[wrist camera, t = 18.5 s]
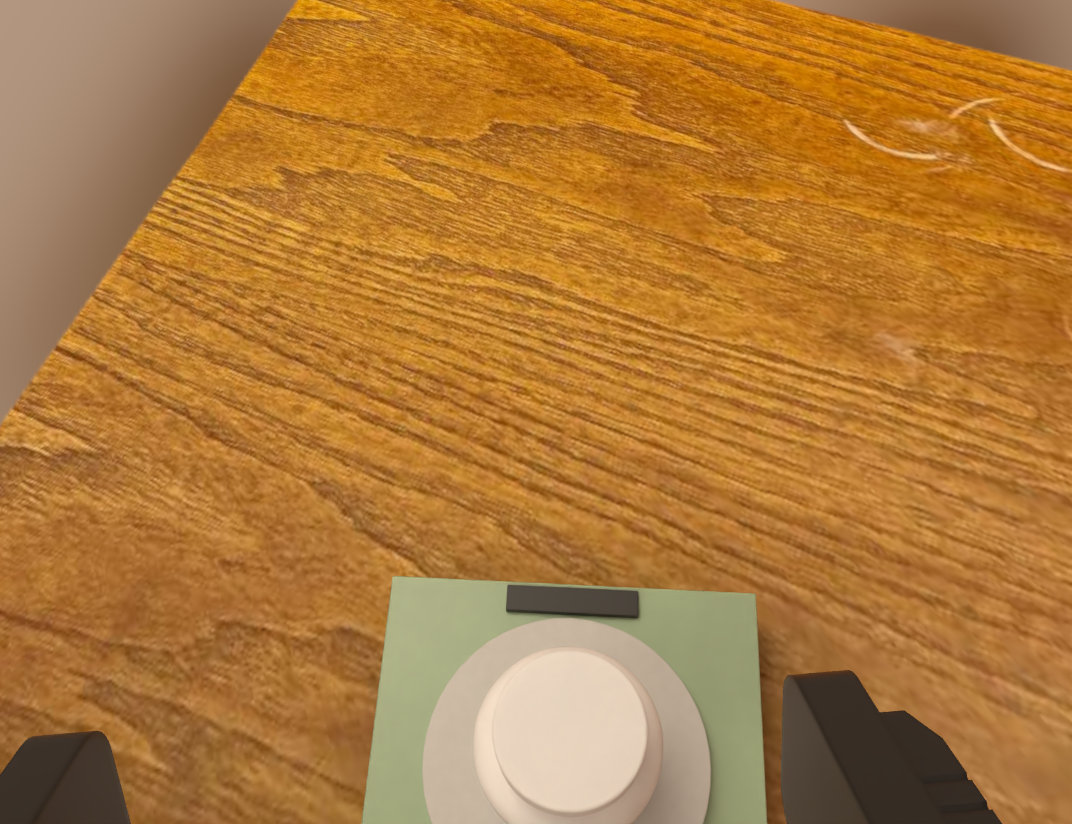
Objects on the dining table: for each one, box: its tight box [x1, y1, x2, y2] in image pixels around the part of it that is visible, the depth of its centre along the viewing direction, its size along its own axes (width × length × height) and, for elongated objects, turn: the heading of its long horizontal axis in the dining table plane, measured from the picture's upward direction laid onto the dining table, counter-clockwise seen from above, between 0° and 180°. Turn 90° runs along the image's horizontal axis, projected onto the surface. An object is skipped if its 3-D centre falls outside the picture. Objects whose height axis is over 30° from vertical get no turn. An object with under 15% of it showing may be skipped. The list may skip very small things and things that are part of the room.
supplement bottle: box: [473, 647, 663, 824], centre depth 28 cm, size 5×5×10 cm
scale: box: [362, 576, 767, 824], centre depth 34 cm, size 14×13×4 cm
